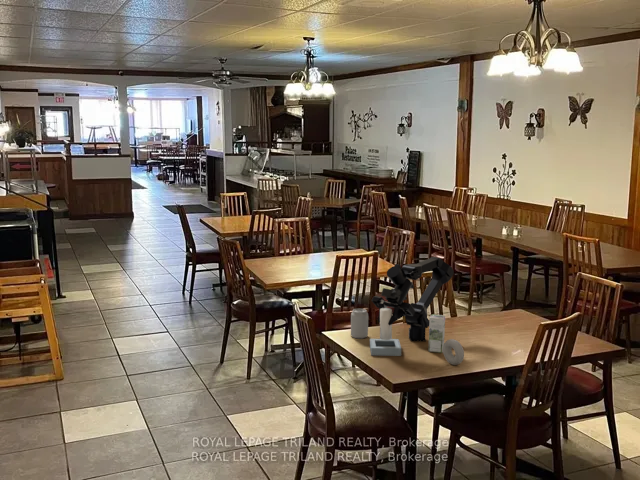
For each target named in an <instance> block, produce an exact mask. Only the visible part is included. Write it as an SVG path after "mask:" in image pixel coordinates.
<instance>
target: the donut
mask: <svg viewBox="0 0 640 480" xmlns="http://www.w3.org/2000/svg"><path fill="white" fill-rule="evenodd" d="M453 350H454V354H455V355H454V354H453ZM442 354H443V356H444V358H445V360H446V361H447V363H448V364H450V365H453V366H457V365H460V364H461V363H462V362H463V360H464V358H465V350H464V348H463V345H462V344H461V343H460V341H458V339H457V340H456V339H454V338H450V339H447V340H445V341H444V346H443V352H442Z"/></svg>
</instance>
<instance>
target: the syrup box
mask: <svg viewBox="0 0 640 480" xmlns="http://www.w3.org/2000/svg"><path fill="white" fill-rule="evenodd" d="M429 316H430V317H429V319H428V320H429V327H428V352H429V353H439V354H440V353H441V354H443V346H444V343H445V332H446V331H445V329H446V315H442V314H430V315H429Z"/></svg>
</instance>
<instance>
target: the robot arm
mask: <svg viewBox="0 0 640 480" xmlns="http://www.w3.org/2000/svg"><path fill="white" fill-rule="evenodd" d="M429 271H431V274H432V275H431V276H432V277H431V278H432V279H431V280H430V282H429V283H428V285H427V287H426V288H425V290H424V291H423V293H422V295H421V296H420V297H419V299H418V301H417V302H416V303H414V302H411V303H410V302H409V303H408V302H404V301H407V299H408V297H407V296H408V293H409V291H410V289H413V290H414V288H415V286H414V282H413V281H417V280H418V279H421V277H422V275H423V274H424V273H427V272H429ZM454 275H455V274H454V269H453V267H452V266H451V265H450V264H448V263H447V262H446V261H444V260H443V259H442V258H440V257H436V256H431V257H429V258H428V259H425V260H423V261H420V262H418V263H408V264H404V265H402V266H401V265H400V264H398V263H396V264H395V265H394V266H391V267H390V268H388V269H387V271H386V276H387V278H388V279H389V280H390V281H391V282H392V284H393V285H394V288H390V289H389V288H385V287H383V288H382V291H381V295H380V296H378V295H375V296H373V297H372V299H371V302H372V304H373V305H374V306H375V307H376V308H377V309H378V310H379V312H378V318H377V323H379V324H380V309H381V308H391V309H393V311H392V316H391V318H390V320H389V323H388V324H389V325H391V324H392V325H393V324H394V323H395V322H397V321H398V320H399V319H401V318H403V317H404V318H405V322H406V325H407V326H409V327H408V339H409V340H410V342H426V341H427V340H426V331H427V329H429V319H428V308H429V307H430V306H431V303H432V302H433V301H434V299H435V297H436V296H437V294H438V293H439V291H440V290H441V287H442V286H443V285H444V284H447V283H449V281H450V280H451V279H452V277H454ZM411 280H413V281H411ZM383 297H385V299H384V298H383Z"/></svg>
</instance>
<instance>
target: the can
mask: <svg viewBox="0 0 640 480" xmlns="http://www.w3.org/2000/svg"><path fill="white" fill-rule="evenodd" d="M368 335H369V313H368V310H367V309H365V308H353V309H352V312H351V313H350V336H351V337H352V338H354V339H357V340H358V339H359V340H361V339H362V340H363V339H365V338H367V337H368Z"/></svg>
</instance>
